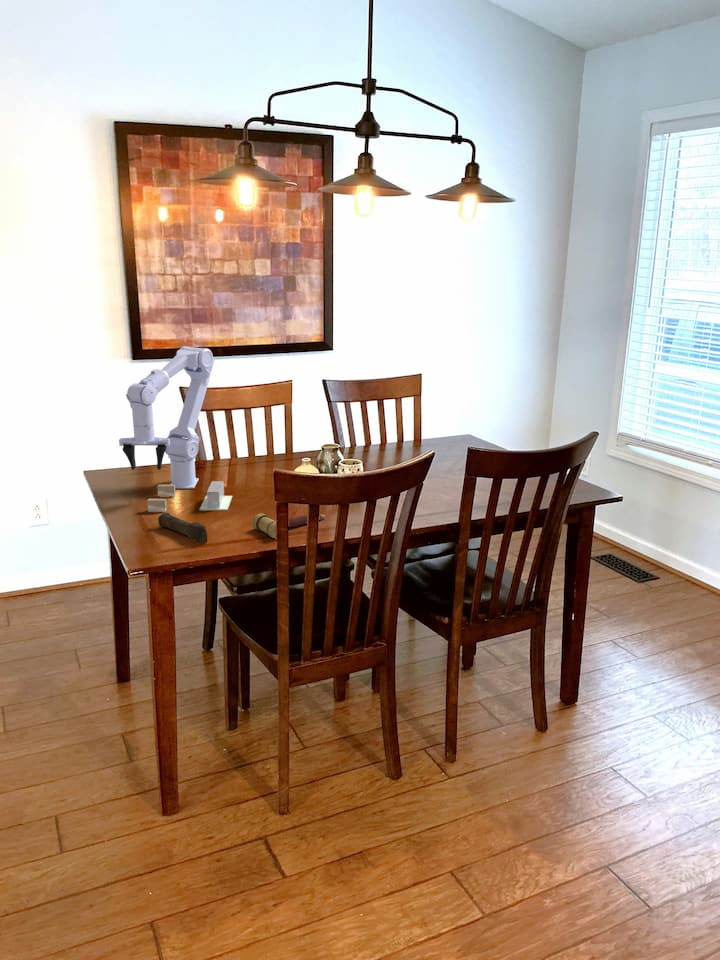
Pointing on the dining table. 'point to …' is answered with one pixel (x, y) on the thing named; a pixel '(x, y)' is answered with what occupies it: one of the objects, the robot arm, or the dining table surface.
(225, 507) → the mat
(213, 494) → the steel bar
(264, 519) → the gavel
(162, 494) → the blocks
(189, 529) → the hand tool
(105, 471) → the dining table surface
